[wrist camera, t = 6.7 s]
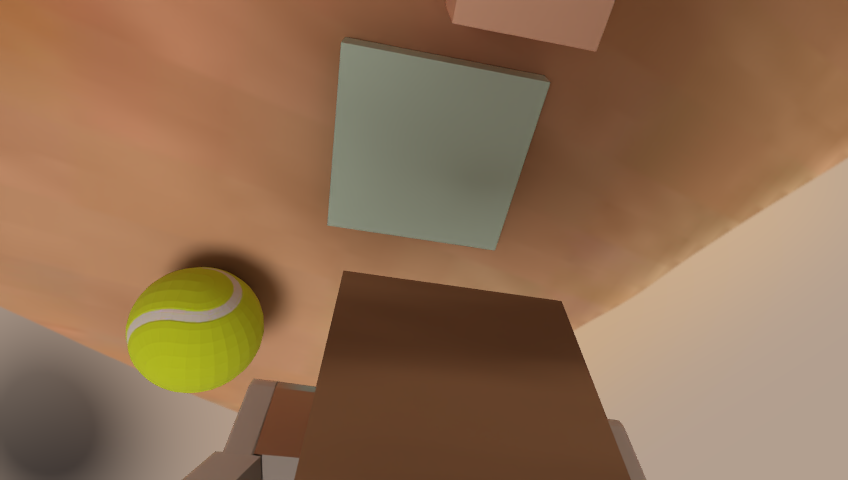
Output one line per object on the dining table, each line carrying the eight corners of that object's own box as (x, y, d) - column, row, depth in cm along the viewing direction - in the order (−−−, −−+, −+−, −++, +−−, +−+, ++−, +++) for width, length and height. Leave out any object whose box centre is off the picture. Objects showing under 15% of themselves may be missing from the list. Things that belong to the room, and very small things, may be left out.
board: (345, 36, 20) (341, 41, 19) (543, 75, 20) (550, 82, 19) (331, 213, 24) (327, 225, 23) (491, 238, 25) (494, 250, 24)
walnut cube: (343, 270, 10) (285, 512, 6) (561, 301, 10) (655, 543, 6) (328, 411, 13) (282, 645, 8) (501, 429, 13) (539, 658, 9)
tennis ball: (165, 316, 29) (103, 407, 23) (162, 230, 25) (87, 314, 19) (272, 337, 30) (237, 429, 24) (283, 257, 26) (245, 344, 21)
